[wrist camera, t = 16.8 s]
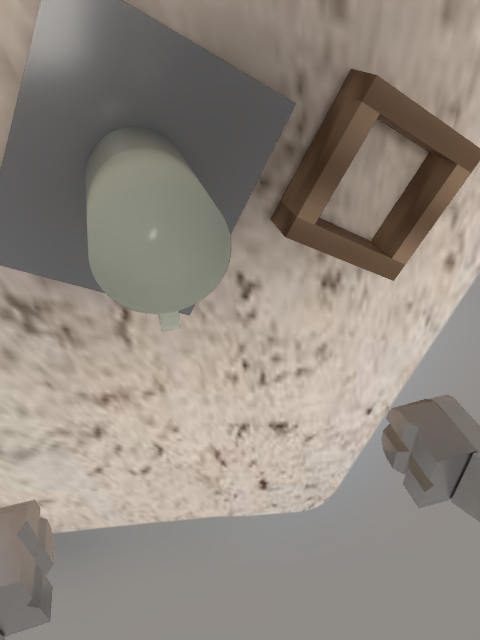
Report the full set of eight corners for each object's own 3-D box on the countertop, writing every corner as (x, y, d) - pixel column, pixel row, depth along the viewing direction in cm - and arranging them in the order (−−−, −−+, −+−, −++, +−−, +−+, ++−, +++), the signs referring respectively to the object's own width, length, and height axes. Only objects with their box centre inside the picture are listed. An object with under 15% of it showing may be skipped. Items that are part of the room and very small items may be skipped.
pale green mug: (73, 132, 24) (70, 195, 16) (181, 121, 25) (227, 174, 17) (106, 268, 29) (116, 366, 21) (195, 253, 30) (236, 340, 22)
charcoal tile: (52, -41, 21) (50, -42, 20) (290, 100, 27) (296, 103, 26) (-18, 252, 27) (-21, 259, 26) (187, 308, 34) (189, 315, 33)
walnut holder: (351, 68, 27) (376, 75, 25) (456, 141, 32) (485, 152, 30) (270, 219, 31) (285, 237, 29) (373, 263, 36) (393, 280, 34)
